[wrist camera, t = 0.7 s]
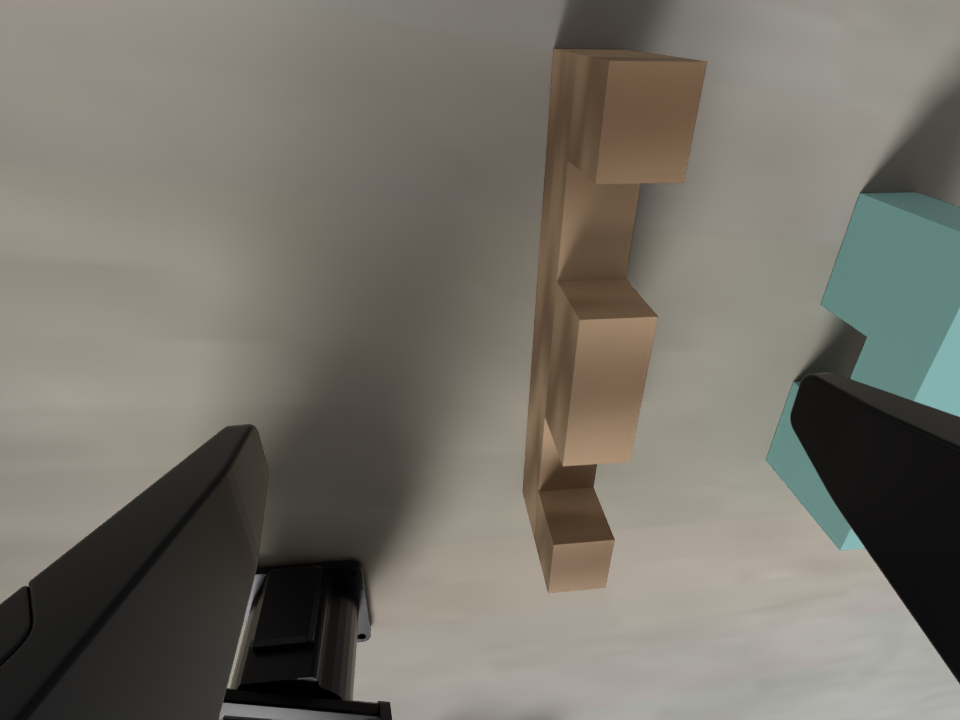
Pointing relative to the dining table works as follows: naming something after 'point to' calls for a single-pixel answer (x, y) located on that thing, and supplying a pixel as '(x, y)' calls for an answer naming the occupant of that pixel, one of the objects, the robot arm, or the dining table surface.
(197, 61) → the dining table surface
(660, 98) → the walnut slotted board
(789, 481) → the teal notched plate
